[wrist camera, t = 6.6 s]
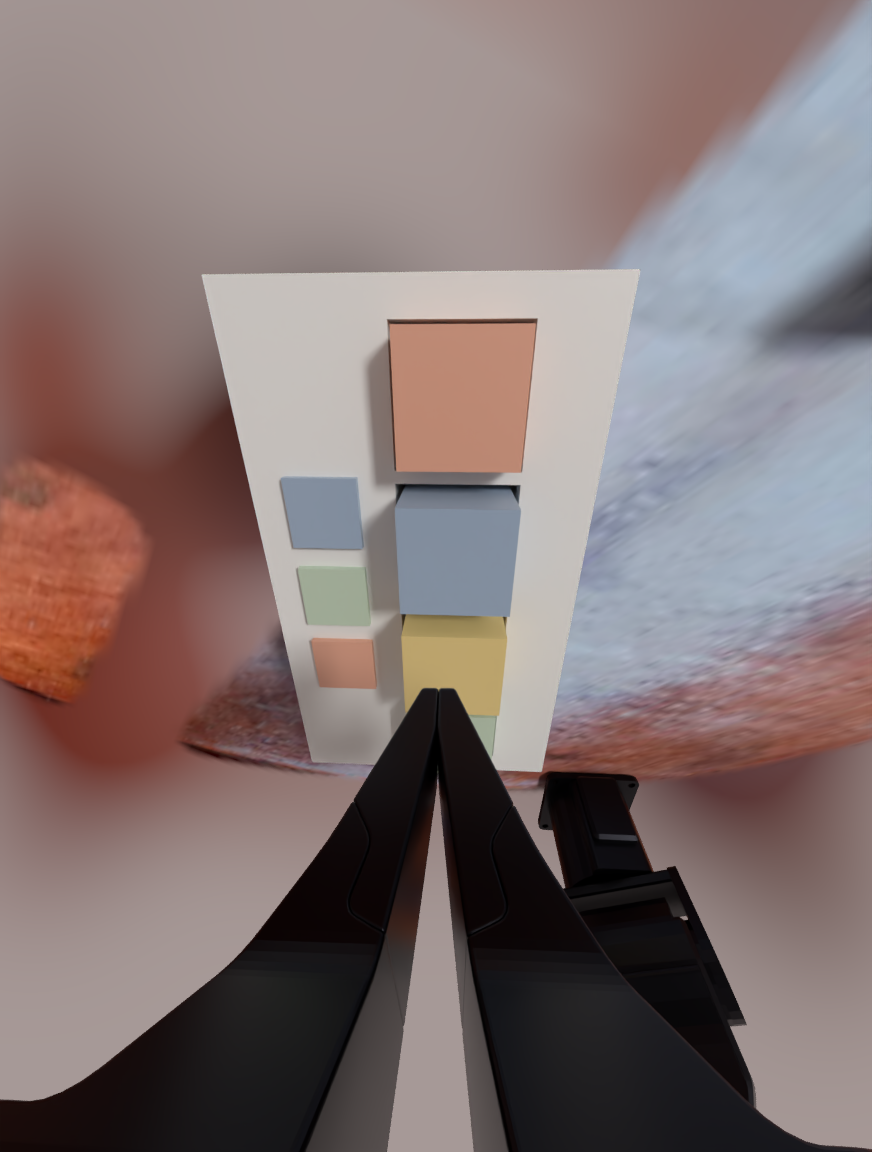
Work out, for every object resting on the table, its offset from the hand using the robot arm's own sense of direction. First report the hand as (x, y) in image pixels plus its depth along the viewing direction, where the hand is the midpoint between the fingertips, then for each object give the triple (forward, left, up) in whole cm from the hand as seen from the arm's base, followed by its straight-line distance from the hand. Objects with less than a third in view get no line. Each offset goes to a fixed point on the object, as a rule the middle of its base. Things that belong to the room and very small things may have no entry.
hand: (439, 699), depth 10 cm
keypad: (-2, +1, -12) cm, 12 cm away
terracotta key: (+7, 0, -10) cm, 12 cm away
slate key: (+1, 0, -9) cm, 9 cm away
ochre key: (-4, 0, -9) cm, 10 cm away
